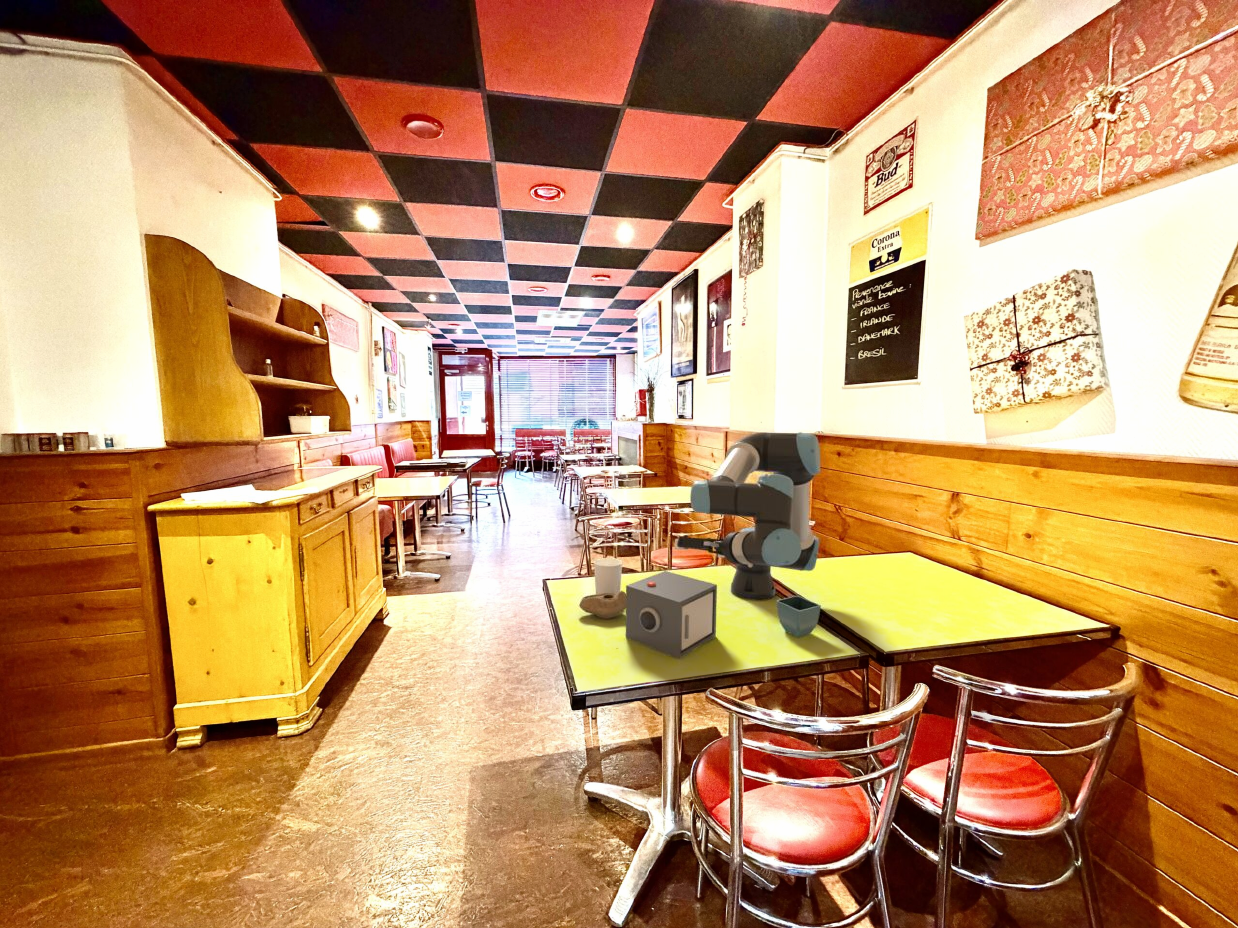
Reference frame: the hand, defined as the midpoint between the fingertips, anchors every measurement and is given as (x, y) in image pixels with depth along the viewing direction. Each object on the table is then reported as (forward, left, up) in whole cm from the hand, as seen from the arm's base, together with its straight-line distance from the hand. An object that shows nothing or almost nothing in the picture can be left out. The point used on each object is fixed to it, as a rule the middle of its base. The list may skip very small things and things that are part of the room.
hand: (697, 548), depth 131 cm
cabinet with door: (+6, -4, -26) cm, 27 cm away
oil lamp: (+20, -24, -26) cm, 41 cm away
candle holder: (+14, -40, -26) cm, 50 cm away
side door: (+1, +4, -24) cm, 25 cm away
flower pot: (-30, +4, -26) cm, 40 cm away
